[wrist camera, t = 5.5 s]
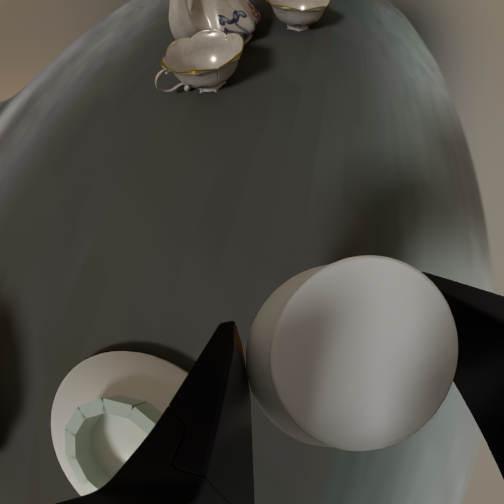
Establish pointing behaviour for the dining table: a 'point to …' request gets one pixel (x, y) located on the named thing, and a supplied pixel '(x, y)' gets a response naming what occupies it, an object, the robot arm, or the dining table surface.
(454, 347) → the supplement bottle
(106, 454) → the carrier socket
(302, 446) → the dining table surface
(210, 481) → the robot arm
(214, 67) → the chinaware
